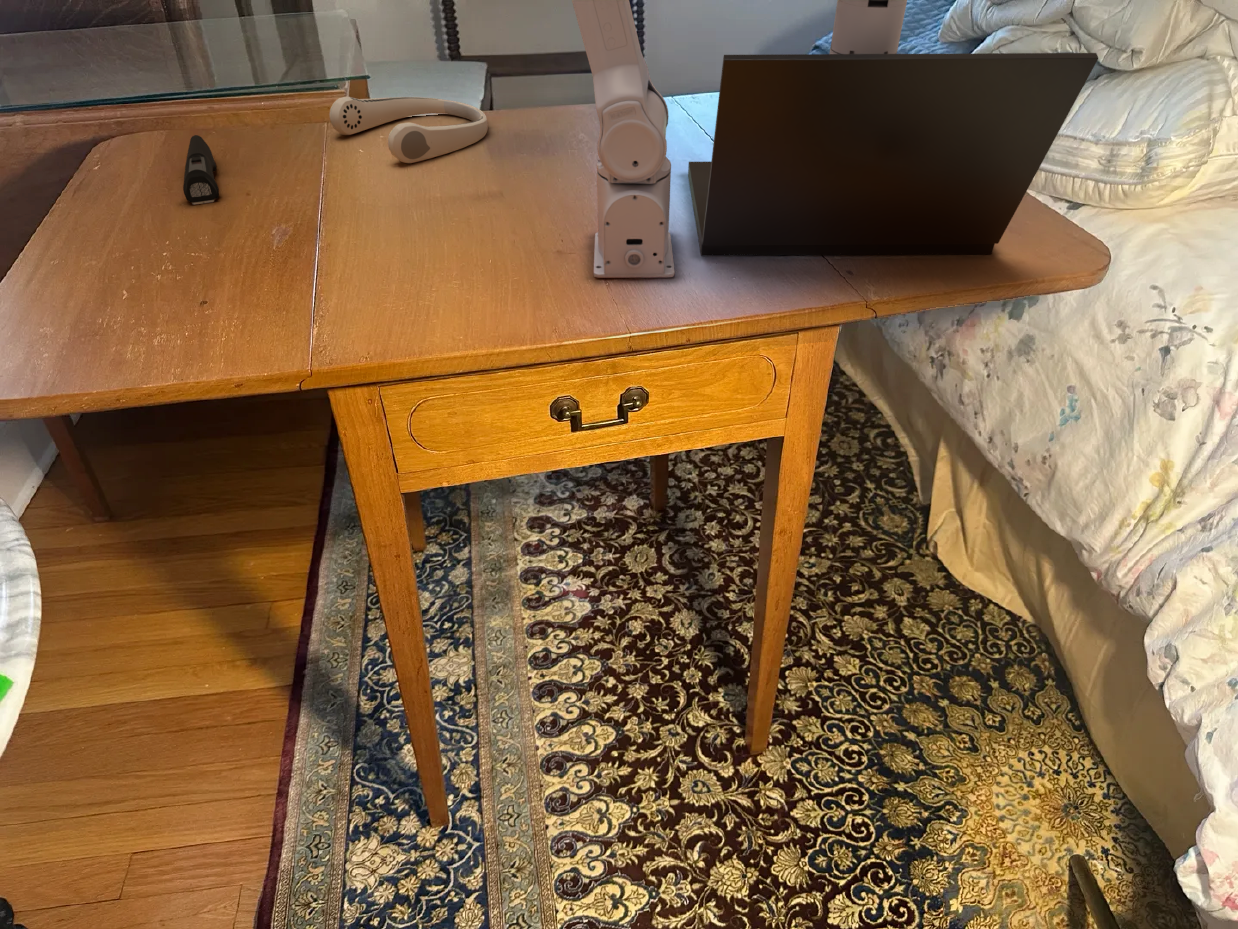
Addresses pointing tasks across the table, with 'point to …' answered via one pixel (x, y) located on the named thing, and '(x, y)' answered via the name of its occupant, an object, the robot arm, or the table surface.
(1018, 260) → the table surface
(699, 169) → the laptop
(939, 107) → the laptop screen
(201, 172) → the electric trimmer
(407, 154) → the beige neck fan
